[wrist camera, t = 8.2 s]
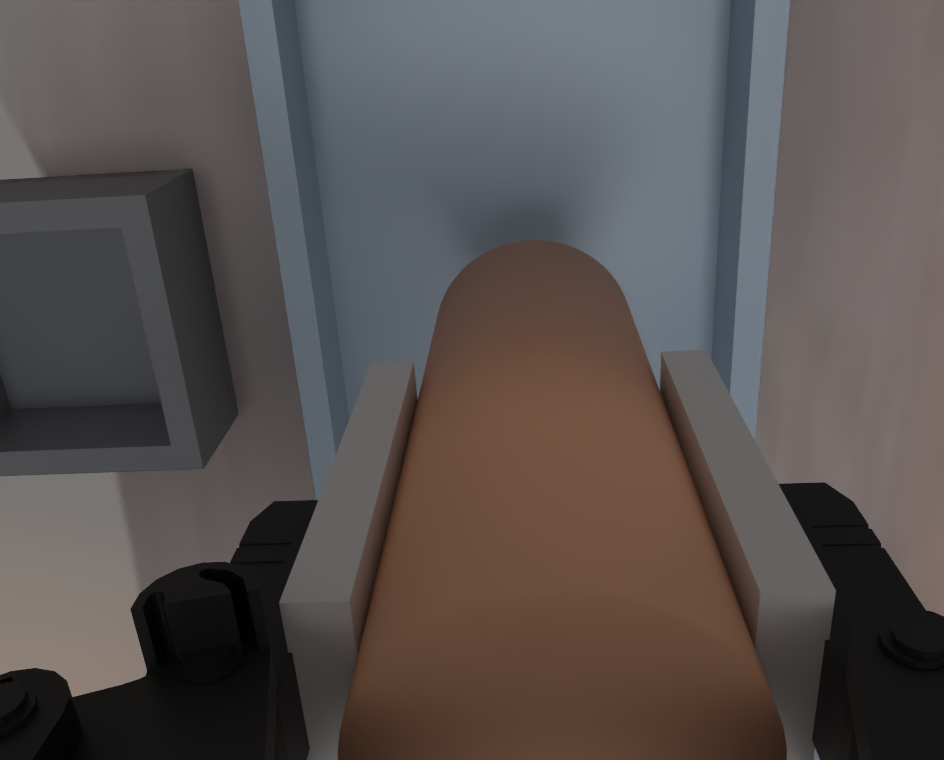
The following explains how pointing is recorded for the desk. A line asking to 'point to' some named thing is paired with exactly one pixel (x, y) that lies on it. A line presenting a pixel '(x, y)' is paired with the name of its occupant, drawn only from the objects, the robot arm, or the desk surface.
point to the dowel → (550, 547)
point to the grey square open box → (108, 327)
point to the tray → (514, 169)
